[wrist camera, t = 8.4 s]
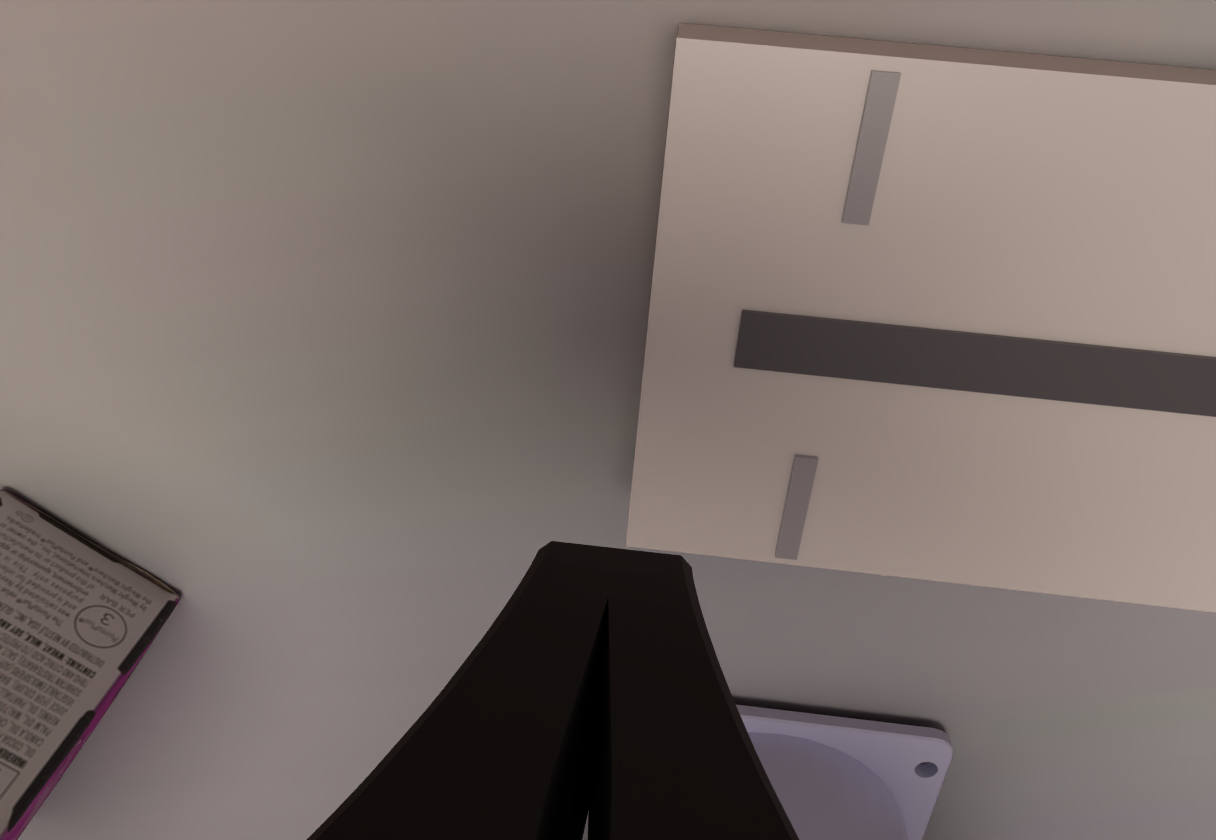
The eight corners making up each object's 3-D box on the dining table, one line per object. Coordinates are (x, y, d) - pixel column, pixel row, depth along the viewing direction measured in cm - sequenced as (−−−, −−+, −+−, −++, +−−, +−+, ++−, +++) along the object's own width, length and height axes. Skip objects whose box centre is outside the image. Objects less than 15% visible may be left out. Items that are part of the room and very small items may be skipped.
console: (1525, 586, 18) (1617, 661, 17) (632, 488, 19) (624, 550, 17) (1851, 126, 14) (2025, 158, 12) (679, 23, 15) (676, 38, 13)
